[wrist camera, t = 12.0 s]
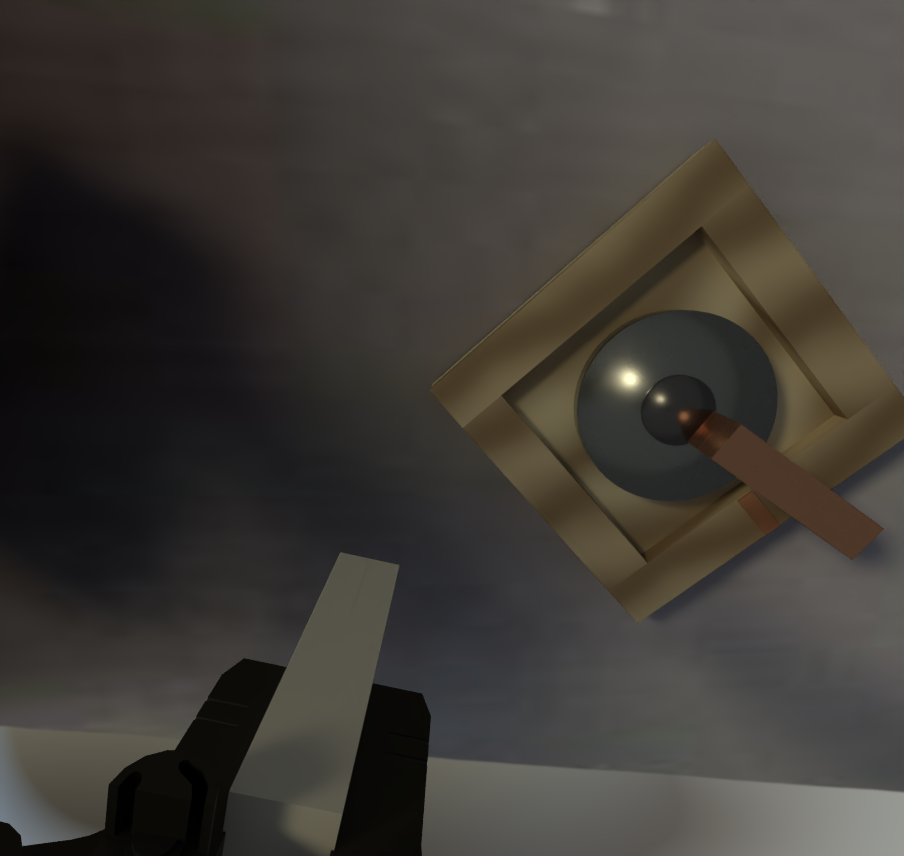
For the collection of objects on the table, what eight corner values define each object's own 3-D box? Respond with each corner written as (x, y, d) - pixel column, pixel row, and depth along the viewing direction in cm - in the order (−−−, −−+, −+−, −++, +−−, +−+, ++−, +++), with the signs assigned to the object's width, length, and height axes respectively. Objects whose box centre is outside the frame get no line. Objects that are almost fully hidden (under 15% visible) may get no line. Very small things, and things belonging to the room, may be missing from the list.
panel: (433, 383, 34) (428, 391, 32) (694, 153, 31) (717, 137, 28) (626, 599, 37) (638, 625, 34) (888, 414, 33) (927, 425, 30)
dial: (536, 425, 33) (546, 449, 28) (654, 270, 30) (690, 264, 25) (746, 572, 34) (792, 620, 29) (874, 435, 32) (950, 461, 27)
